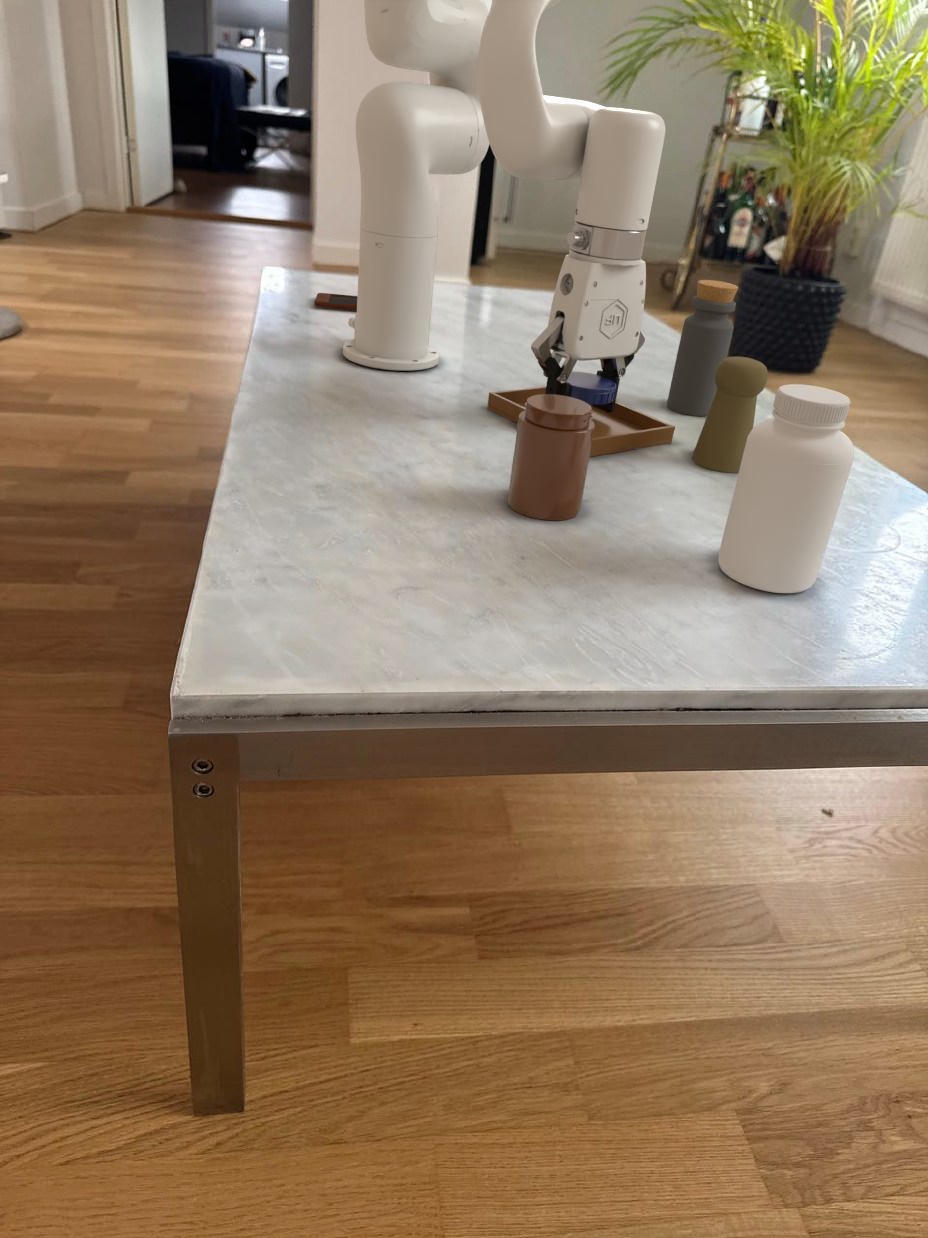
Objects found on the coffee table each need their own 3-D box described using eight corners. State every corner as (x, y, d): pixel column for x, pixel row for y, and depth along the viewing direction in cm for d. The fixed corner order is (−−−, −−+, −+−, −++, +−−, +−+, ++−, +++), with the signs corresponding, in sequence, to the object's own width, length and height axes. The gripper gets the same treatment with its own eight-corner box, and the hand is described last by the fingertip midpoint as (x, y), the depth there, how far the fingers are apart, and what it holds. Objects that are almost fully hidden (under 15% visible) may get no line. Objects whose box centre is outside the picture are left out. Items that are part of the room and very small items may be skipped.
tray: (487, 408, 109) (488, 392, 108) (570, 398, 116) (572, 382, 115) (586, 457, 98) (589, 440, 97) (671, 442, 105) (675, 426, 104)
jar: (497, 509, 83) (511, 405, 79) (520, 486, 89) (533, 387, 84) (569, 526, 82) (587, 421, 77) (587, 501, 87) (605, 402, 82)
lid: (539, 388, 105) (542, 373, 105) (584, 383, 109) (587, 369, 109) (581, 407, 101) (584, 391, 100) (626, 402, 105) (629, 386, 104)
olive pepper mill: (716, 474, 97) (743, 368, 92) (679, 454, 102) (703, 351, 96) (760, 470, 100) (788, 366, 94) (722, 450, 104) (747, 350, 99)
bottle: (714, 419, 115) (744, 291, 107) (666, 411, 115) (693, 283, 108) (713, 406, 120) (742, 283, 112) (666, 398, 120) (692, 276, 113)
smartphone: (412, 309, 146) (314, 300, 144) (411, 316, 146) (313, 307, 145) (411, 300, 152) (317, 291, 150) (410, 306, 152) (317, 297, 151)
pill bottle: (702, 549, 80) (746, 374, 73) (792, 554, 81) (844, 382, 74) (733, 593, 73) (785, 405, 66) (830, 598, 74) (892, 413, 67)
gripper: (569, 251, 90) (541, 431, 99) (690, 250, 100) (655, 414, 109) (519, 236, 95) (497, 409, 104) (640, 237, 105) (610, 395, 114)
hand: (578, 410), depth 106 cm, fingers closed on lid, 6 cm apart
